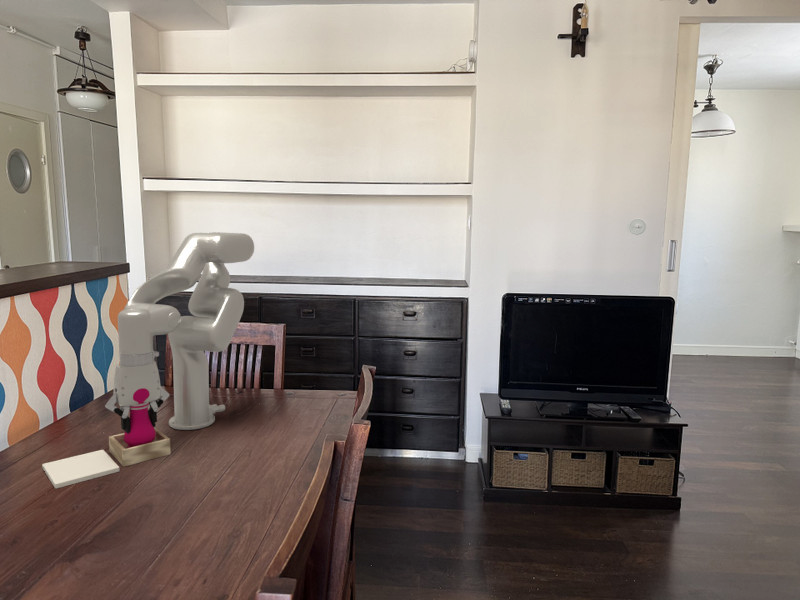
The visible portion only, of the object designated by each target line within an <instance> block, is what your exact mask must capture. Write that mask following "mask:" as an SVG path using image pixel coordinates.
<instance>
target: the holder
mask: <svg viewBox="0 0 800 600" xmlns="http://www.w3.org/2000/svg"><path fill="white" fill-rule="evenodd" d="M154 429H155V433H156V436H155V439H154V440H153V441H152V442H151V443H147V444H143V445H139V446H135V447H131V448H127V446H128V444H126V443H125V441H124V434H125V432H124V433H119V434H115V435H110V436H108V448H109V449H108V452H109V453H110V454H111V455H112V456H113V457H114V459H116V460H117V461H118V462H119V464H120V465H121V466H122V467H128V466H131V465H136V464H138V463H143V462H146V461H147V462H148V461H151V460H153V459H157V458H161V457H165V456H169V455H171V438H169V436H167V435H166V434H164V433H163V432H162V431H160V430H159V429H158V428H157V427H156V426H155V427H154Z"/></svg>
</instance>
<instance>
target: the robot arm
mask: <svg viewBox="0 0 800 600" xmlns="http://www.w3.org/2000/svg"><path fill="white" fill-rule="evenodd" d="M254 251H255V243H254V239H252V237H251V236H250V235H249V234H247V233H241V232H239V233H238V232H217V231H215V232H214V231H213V232H193V233H190V234H188V235H187V236H185V238H184V239H183V241H182V243H181V244H180V246H179V248H178V249H177V251H176V252H175V254H174V256H172V258H171V260H170V262H169V264H168V266H167V267H166V268H165V269H164V270H162V271H159V273H157V274H155V275H154V276H152V277H151V278H149V279H148V280H146V281H144V282H143V283H142V284H141V285H140V286H138V287H137V288H136V289H135V290H134V292H133V293H132V294H131V296H130V298H129V300H128V301H127V303H126V304H125V306H124V309H122V310H121V311H120V312H118V314H117V329H118V330H117V333H118V350H119V351H118V354H119V356H118V357H119V364H117V365H115V371H114V377H113V395H112V396H111V397H110V398H109V399H108V401H107V402H106V404H105V405H104V407H105V408H106V409H108V410H109V411H111V412H113V413H114V414H116V415H117V416H119V417H120V425H121V426H120V427H121V430H123V432H124V433H125V432H126V433H130V416H129V413H130V406H132V405H135V404H139V403H138V402H136V401H134V400H133V394H134V392H136V391H137V390H138V389H142V388H145V389H147V390H148V391H149V393H150V395H149V397H148V398H147V399H146V400H145V401H144V403H146V402H149V404H150V405H149V407H148V415H149V418H150V421H151V423H152V426H153V427H156V423H157V422H158V411H159V408H161V406H162V405H163V403H164V402H165V401H167V399H168V398H169V397H170V393H169V392H168V391H166V390H165V389H164V388H163V387H162V386H161V379H160V373H159V369H158V364H157V362H156V361H155V358H156V357H159V356H160V352H159V351H155V350H154V340H153V339H154V336H158V335H167V337H168V341H169V345H170V348H171V353H172V354H171V355H172V370H173V371H172V372H173V374H172V375H173V407H174V408H173V409H174V415H173V416H172V417H170V419H169V420H168V426H169V427H170V428H172V429H175V430H178V431H182V430H183V431H191V430H192V431H193V430H199V429H204V428H206V427H209V426H210V425H212V424H213V423H215V420H216V418H215V417H216V416H215V414H216V413H221V412H224V411H226V406H225V404H219V405H217V403H214V404H210V386H209V385H210V384H209V383H210V382H209V378H210V376H209V375H210V374H209V361H208V357H207V355H206V354H205V352H212V353H219V352H220V353H221V352H222V351H225V350H226V349H227V348H228V346H230V344H231V341H232V340H233V337H234V335H235V333H236V331H237V328H238V326H239V323H240V321H241V318H242V316H243V313H244V308H245V299H244V296H243V294H242V292H241V291H240V290H238V289H236V288H232V287H229V285H230V282H231V275H230V272H229V270H228V269H227V267H226V266H225V264H235V263H243V262H247V261H248V260H250V259H251V258H252V256H253V255H254V253H255V252H254ZM199 278H200V279H199ZM198 279H199V280H198ZM195 285H196V286H195ZM193 287H195V288H194V290H193V292H192V294H191V295H190V298H189V300H188V301H189V302H188V305H187V307H188V311H189V312H190V314H191V315H183V316H181V313H180V312H179V310H178V309H177V308H176V307H174V306H172V305H167V304H157V302H159V301H160V300H162V299H163V298H165V297H169V296H171V295H174V294H177V293H178V294H179V293H182V292H184V291H187V290H189V289H191V288H193ZM115 404H118V405H119V406H120V407H118V406H115Z"/></svg>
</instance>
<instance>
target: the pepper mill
mask: <svg viewBox="0 0 800 600" xmlns="http://www.w3.org/2000/svg"><path fill="white" fill-rule="evenodd" d="M149 395H150V393H149V391H148V390H147V389H145V388H142V389H138V390H137V391H136V392H134V394H133V400H134V401H136V402H138V403H139V404H135V405H132V406H130V409H129V418H130V433H126V432H125V431H124V433H125V434H124V441H125V443H126V444H128V446H127V448H131V447H135V446H139V445H143V444H147V443H151V442H152V441H153V440H154V439H155V436H156V433H155V429H154V427H153V426H152V423H151V421H150V418H149V415H148V409H149V408H150V407H149V405H150V404H149V402H146V403H144V401H145V400H146V399H147V398H148V397H149Z"/></svg>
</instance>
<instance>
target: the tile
mask: <svg viewBox="0 0 800 600" xmlns="http://www.w3.org/2000/svg"><path fill="white" fill-rule="evenodd" d="M41 464H42V465H41V468H42V471H45V472H44V473H45V475H46V476H47V478H48V480H49V481H50V483H51V484H52V486H53V488H54V489H55V490H56V489H59V488H63V487H66V486H70V485H75V484H78V483H83V482H85V481H88V480H89V481H90V480H92V479H93V480H94V479H97V478H100V477H103V476H107V475H110V474H111V475H112V474H114V473H119V472H120V466H119V465H118V464H117V463H116V462H115V461H114V460H113V459H112V458H111V456H110V455H109V454H108V453H107V452H106V451H105V450H104V449H100V450H95V451H91V452H87V453H84V454H83V453H82V454H78V455H74V456H70V457H66V458H62V459H58V460H54V461H50V462H45V463H41Z"/></svg>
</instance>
